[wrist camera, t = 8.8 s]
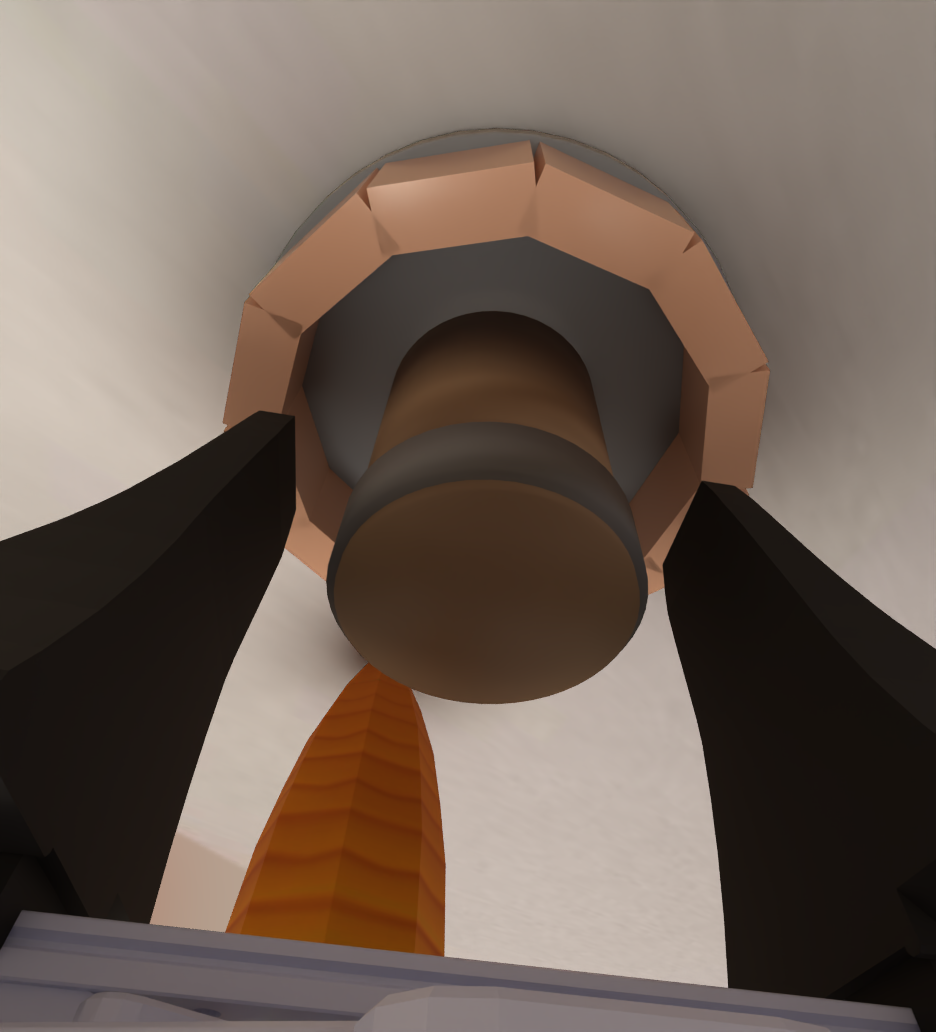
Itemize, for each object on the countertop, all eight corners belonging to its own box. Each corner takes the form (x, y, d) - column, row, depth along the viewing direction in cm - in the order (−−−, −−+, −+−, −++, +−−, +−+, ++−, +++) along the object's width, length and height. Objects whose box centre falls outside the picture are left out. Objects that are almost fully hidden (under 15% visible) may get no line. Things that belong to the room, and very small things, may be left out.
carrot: (456, 712, 22) (403, 1505, 10) (311, 697, 22) (92, 1484, 10) (472, 612, 19) (423, 1574, 7) (304, 595, 19) (-20, 1549, 7)
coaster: (840, 264, 13) (911, 318, 10) (587, 604, 19) (599, 684, 17) (325, 18, 11) (279, 21, 8) (229, 489, 17) (188, 561, 15)
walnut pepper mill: (629, 324, 13) (702, 509, 8) (570, 509, 16) (598, 725, 11) (392, 285, 13) (325, 452, 8) (377, 481, 15) (321, 689, 11)
